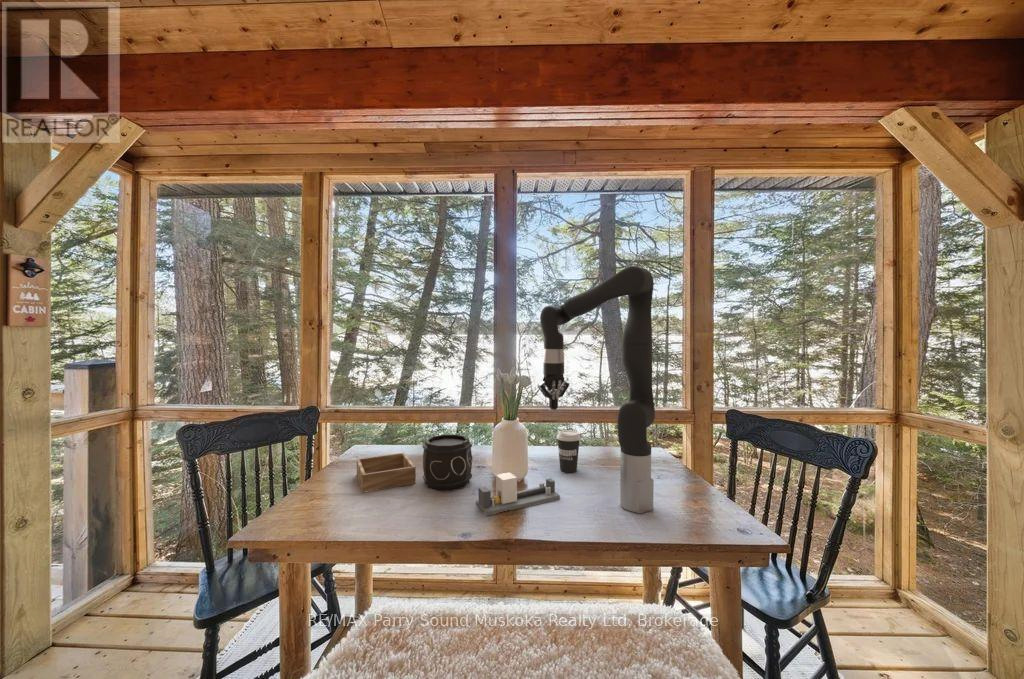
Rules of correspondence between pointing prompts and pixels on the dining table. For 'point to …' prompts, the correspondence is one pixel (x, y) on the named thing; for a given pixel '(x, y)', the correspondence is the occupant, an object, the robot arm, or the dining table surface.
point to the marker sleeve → (506, 487)
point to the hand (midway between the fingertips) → (553, 409)
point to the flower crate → (385, 471)
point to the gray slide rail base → (523, 498)
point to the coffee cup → (568, 450)
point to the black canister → (447, 462)
